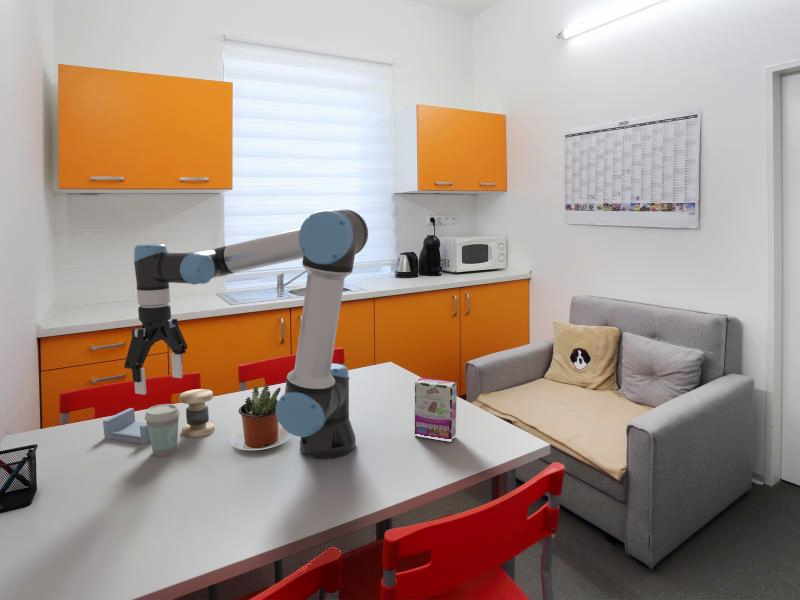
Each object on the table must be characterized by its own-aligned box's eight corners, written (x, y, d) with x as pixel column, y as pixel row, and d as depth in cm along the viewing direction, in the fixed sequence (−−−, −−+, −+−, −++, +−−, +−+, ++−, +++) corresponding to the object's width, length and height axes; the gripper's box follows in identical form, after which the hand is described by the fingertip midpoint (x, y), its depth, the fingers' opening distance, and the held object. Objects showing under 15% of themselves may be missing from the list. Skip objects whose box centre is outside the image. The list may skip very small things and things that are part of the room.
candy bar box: (456, 436, 156) (457, 381, 153) (451, 443, 151) (452, 387, 148) (419, 430, 160) (420, 376, 157) (413, 437, 155) (414, 382, 152)
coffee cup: (169, 460, 140) (166, 416, 138) (140, 457, 142) (136, 413, 140) (188, 446, 148) (186, 404, 146) (160, 443, 150) (157, 402, 148)
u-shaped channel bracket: (131, 424, 162) (129, 408, 161) (170, 430, 158) (169, 413, 158) (104, 438, 153) (102, 420, 152) (145, 444, 149) (144, 426, 148)
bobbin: (221, 427, 161) (219, 390, 159) (201, 439, 153) (199, 401, 151) (195, 423, 164) (192, 387, 162) (174, 435, 155) (172, 397, 153)
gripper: (175, 296, 151) (179, 370, 155) (103, 313, 127) (110, 399, 131) (198, 297, 149) (202, 372, 153) (129, 315, 125) (136, 402, 129)
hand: (160, 385), depth 142 cm, fingers open, 13 cm apart
